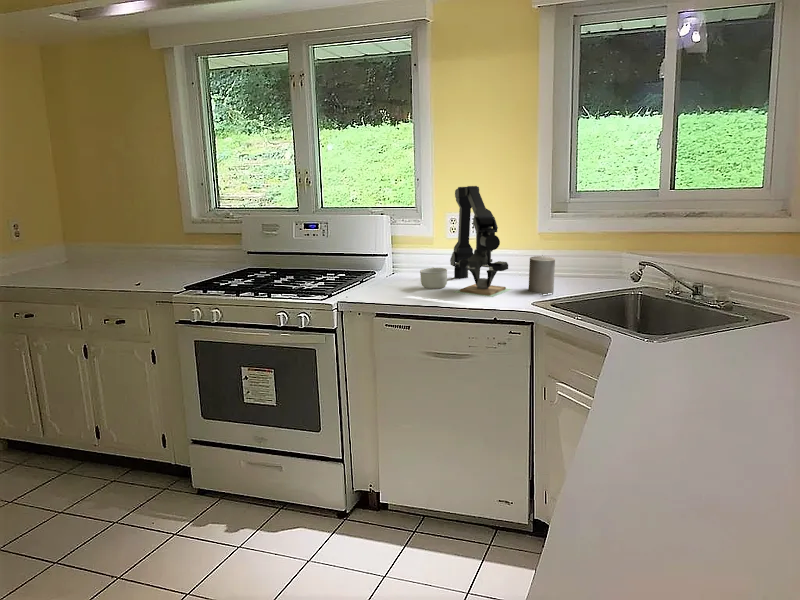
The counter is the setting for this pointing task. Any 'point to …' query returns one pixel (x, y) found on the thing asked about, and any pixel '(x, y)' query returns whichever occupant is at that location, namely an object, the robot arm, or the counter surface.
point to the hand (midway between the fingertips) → (482, 286)
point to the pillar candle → (541, 274)
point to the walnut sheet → (484, 291)
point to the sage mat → (485, 295)
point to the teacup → (433, 278)
